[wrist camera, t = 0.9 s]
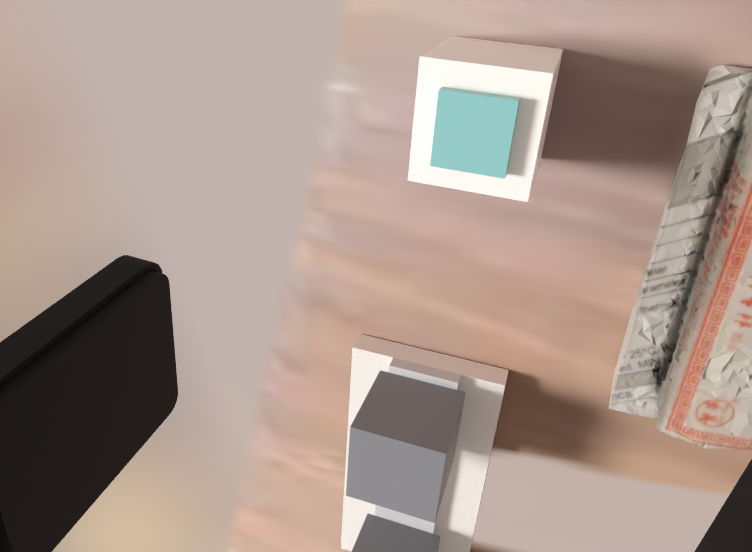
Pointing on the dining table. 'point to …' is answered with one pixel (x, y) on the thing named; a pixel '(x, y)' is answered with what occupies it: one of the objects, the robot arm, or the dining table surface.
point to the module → (482, 115)
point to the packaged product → (699, 284)
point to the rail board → (467, 440)
